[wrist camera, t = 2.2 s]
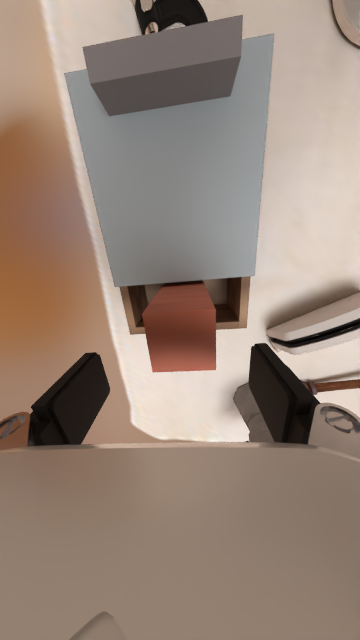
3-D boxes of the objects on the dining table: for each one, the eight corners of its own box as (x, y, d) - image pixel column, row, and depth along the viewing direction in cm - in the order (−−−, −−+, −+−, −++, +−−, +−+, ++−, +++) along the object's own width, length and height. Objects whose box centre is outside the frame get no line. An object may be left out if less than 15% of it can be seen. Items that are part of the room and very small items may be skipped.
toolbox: (116, 147, 23) (74, 88, 14) (236, 129, 21) (266, 53, 13) (145, 312, 32) (130, 334, 24) (231, 306, 31) (246, 327, 22)
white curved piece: (272, 350, 34) (295, 368, 24) (262, 329, 34) (281, 338, 24) (366, 315, 30) (438, 320, 20) (354, 291, 30) (421, 284, 20)
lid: (72, 84, 14) (31, 26, 10) (268, 48, 13) (299, -32, 9) (118, 285, 21) (102, 293, 17) (251, 274, 19) (266, 280, 16)
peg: (169, 276, 28) (141, 313, 11) (199, 273, 28) (215, 309, 11) (172, 304, 30) (152, 372, 13) (200, 302, 30) (215, 369, 13)
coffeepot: (259, 367, 36) (321, 470, 19) (290, 388, 37) (371, 500, 21) (212, 408, 41) (229, 516, 24) (241, 425, 43) (275, 537, 26)
